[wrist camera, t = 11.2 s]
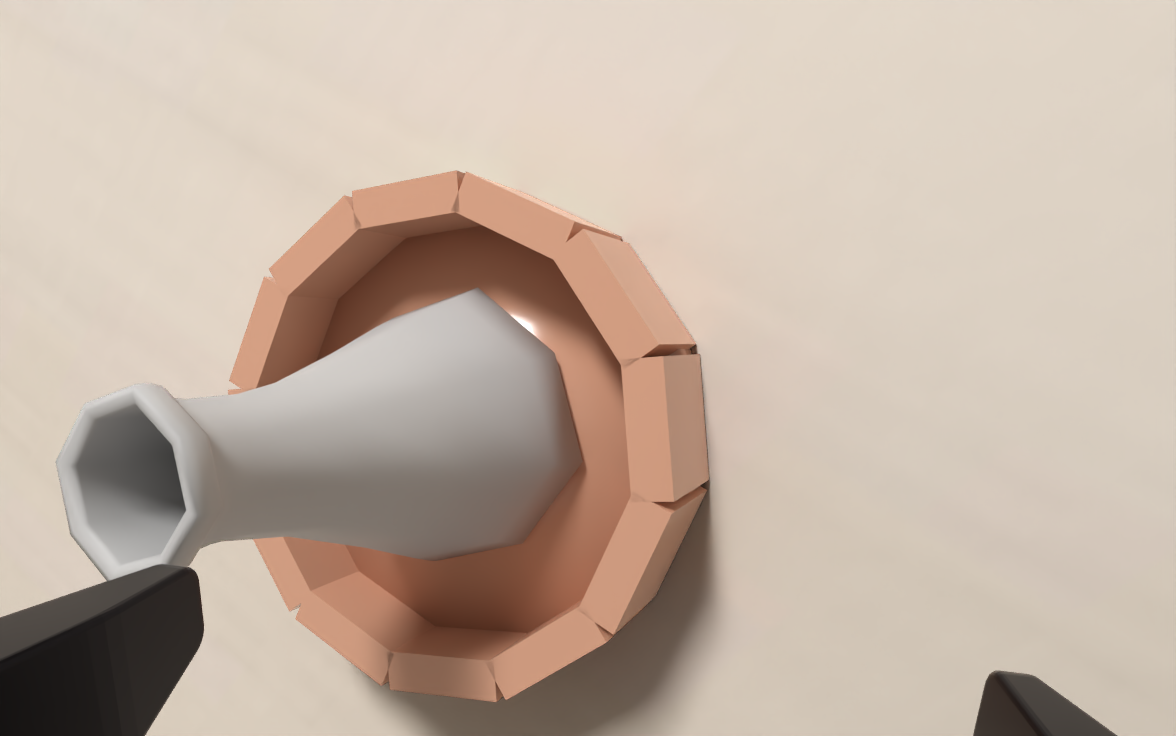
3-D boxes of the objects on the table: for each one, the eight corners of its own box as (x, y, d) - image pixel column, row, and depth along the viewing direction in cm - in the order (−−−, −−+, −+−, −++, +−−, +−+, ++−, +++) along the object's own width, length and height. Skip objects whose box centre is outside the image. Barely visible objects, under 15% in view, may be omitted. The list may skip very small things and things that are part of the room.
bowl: (807, 510, 19) (786, 539, 16) (437, 726, 24) (372, 776, 21) (534, 100, 22) (476, 66, 19) (247, 365, 26) (167, 368, 23)
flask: (433, 601, 22) (87, 782, 13) (318, 386, 24) (-66, 415, 15) (633, 472, 20) (377, 585, 11) (491, 240, 21) (157, 165, 12)
